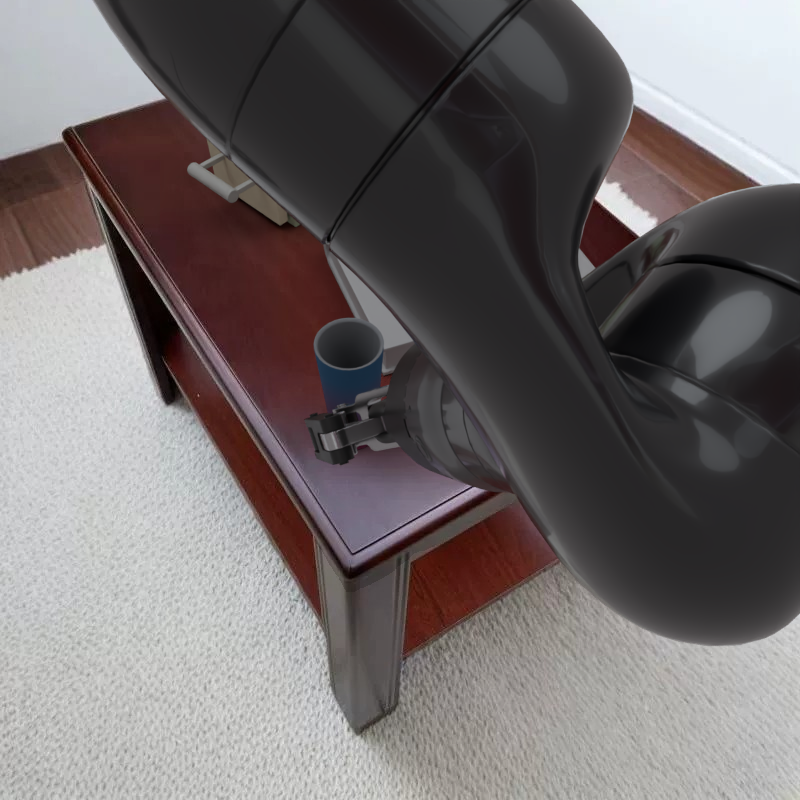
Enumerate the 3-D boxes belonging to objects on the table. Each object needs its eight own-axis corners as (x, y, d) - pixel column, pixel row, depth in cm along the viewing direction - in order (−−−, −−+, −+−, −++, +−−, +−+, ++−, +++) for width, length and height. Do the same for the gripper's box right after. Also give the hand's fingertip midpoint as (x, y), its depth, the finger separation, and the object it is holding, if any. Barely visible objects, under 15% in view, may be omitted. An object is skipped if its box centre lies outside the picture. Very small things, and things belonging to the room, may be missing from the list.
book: (609, 284, 73) (383, 349, 67) (600, 311, 76) (383, 376, 70) (523, 179, 83) (321, 228, 77) (519, 207, 86) (324, 255, 80)
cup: (347, 467, 64) (340, 381, 54) (312, 427, 66) (299, 338, 57) (396, 436, 66) (398, 348, 56) (360, 397, 68) (356, 307, 59)
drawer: (248, 245, 80) (236, 185, 73) (184, 199, 84) (168, 139, 78) (364, 173, 88) (363, 113, 82) (300, 135, 92) (294, 76, 86)
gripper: (602, 280, 34) (484, 317, 50) (311, 370, 31) (284, 379, 47) (645, 432, 35) (516, 421, 50) (363, 535, 32) (319, 489, 47)
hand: (404, 401), depth 49 cm, fingers open, 8 cm apart
